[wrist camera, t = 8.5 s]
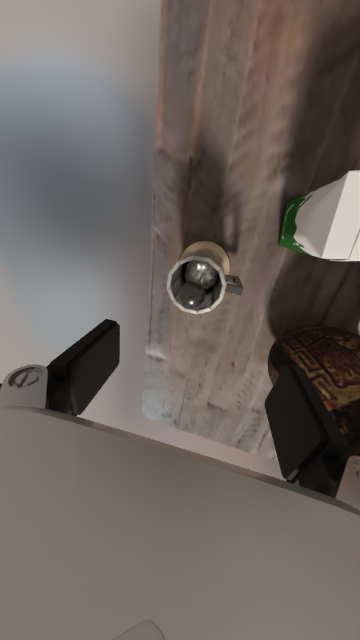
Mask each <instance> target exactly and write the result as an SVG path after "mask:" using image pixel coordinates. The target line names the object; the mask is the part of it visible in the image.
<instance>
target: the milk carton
mask: <svg viewBox="0 0 360 640" xmlns="http://www.w3.org/2000/svg"><path fill="white" fill-rule="evenodd" d="M278 245H281V246H283V247H286V248H289V249H292V250H294V251H297V252H301V253H304V254H308V255H312V256H315V257H319V258H324V259H346V260H330V261H360V170H356V171H348V172H347V173H346V174H345V175H344V176H343V177H342V178H341V179H339V180H337V181H335V182H332V183H330V184H328V185H325V186H323V187H321V188H318V189H316V190H314V191H312V192H309V193H307V194H305V195H303V196H300V197H298V198H296V199H294V200H291V201H289V202H287V205H286V209H285V214H284V219H283V224H282V229H281V233H280V238H279V243H278Z"/></svg>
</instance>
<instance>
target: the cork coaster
mask: <svg viewBox="0 0 360 640" xmlns="http://www.w3.org/2000/svg"><path fill="white" fill-rule="evenodd" d="M200 248H208V249H212V250H214V251H215V252H216V253H217V254H218V255H219V256H220V257H221V259H222V262H223V266H224V271H225V274H226V275H228V274H229V269H230V264H229V259H228V256H227V254H226V252H225V251H224V250H223V249H222V248H221V247H220V246H219V245H217V244H216V243H213V242H210V241H200V242H196V243H194V244H192V245H190V246H189V247H188V248H186V250H185V251H184V252H183V253H182V255H181V257H180V259H182V258H183V257H185V256H186V255H187V254H189V253H190V252H192V251H194V250H197V249H200Z"/></svg>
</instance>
